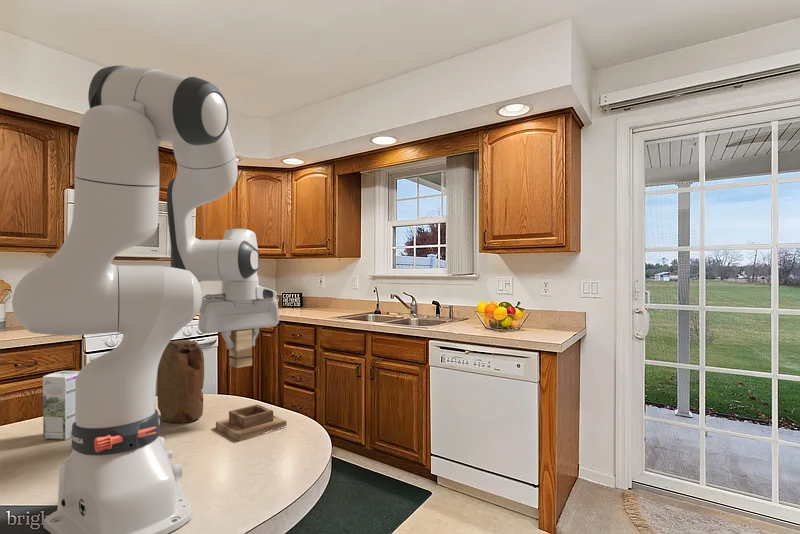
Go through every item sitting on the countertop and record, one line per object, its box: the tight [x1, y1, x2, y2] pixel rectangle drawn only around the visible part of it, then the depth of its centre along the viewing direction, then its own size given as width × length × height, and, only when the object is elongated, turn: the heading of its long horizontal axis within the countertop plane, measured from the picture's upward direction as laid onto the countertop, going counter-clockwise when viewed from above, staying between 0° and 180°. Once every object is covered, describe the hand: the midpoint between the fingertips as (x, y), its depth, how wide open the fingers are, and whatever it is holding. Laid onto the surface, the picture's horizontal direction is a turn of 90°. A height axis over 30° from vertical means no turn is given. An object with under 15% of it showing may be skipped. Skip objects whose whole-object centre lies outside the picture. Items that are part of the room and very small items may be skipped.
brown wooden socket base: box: [215, 404, 288, 442], centre depth 106 cm, size 12×12×4 cm
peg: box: [228, 329, 253, 369], centre depth 112 cm, size 4×4×9 cm
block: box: [156, 339, 205, 424], centre depth 113 cm, size 11×8×20 cm
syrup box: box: [42, 370, 80, 441], centre depth 102 cm, size 6×6×14 cm
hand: (240, 347), depth 112 cm, fingers closed on peg, 4 cm apart
